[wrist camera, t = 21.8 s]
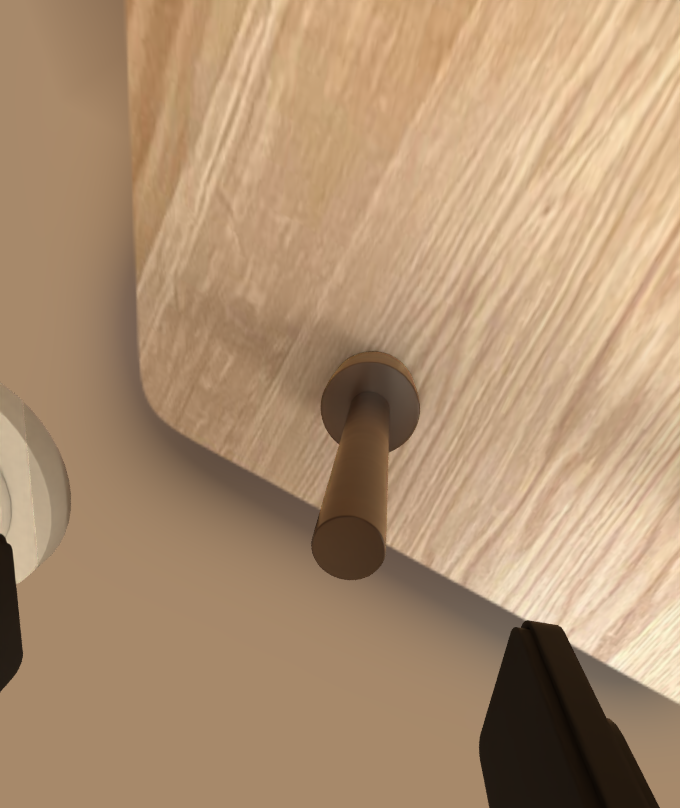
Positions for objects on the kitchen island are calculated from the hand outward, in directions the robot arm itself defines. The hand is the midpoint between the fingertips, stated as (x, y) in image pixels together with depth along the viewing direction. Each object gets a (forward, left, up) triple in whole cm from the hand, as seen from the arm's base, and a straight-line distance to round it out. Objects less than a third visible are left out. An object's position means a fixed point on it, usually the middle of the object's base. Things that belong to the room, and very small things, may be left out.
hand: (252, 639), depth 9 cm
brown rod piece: (+1, 0, -19) cm, 19 cm away
